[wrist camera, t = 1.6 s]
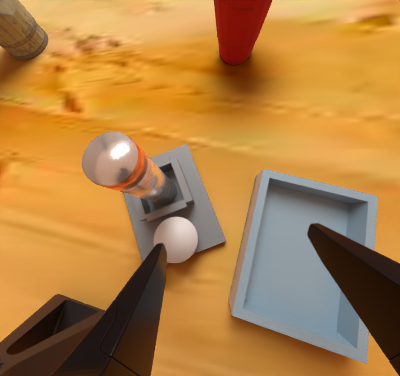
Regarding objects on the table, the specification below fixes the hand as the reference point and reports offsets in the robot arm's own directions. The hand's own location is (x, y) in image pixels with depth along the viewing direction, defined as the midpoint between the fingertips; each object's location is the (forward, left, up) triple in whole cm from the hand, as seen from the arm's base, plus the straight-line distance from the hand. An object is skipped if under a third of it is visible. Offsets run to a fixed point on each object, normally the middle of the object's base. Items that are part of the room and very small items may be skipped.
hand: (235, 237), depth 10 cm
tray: (+5, -9, -14) cm, 17 cm away
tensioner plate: (-3, +8, -14) cm, 16 cm away
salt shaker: (-2, +10, -13) cm, 16 cm away
